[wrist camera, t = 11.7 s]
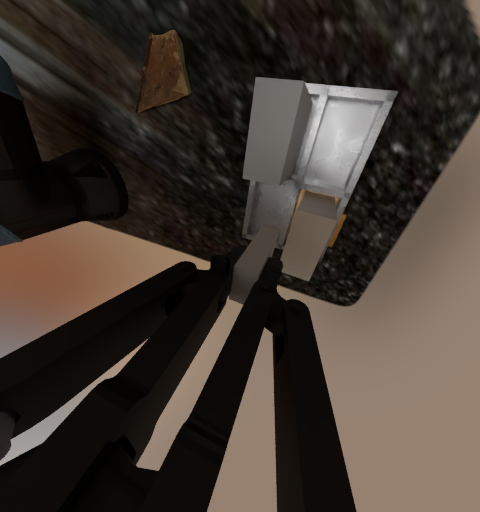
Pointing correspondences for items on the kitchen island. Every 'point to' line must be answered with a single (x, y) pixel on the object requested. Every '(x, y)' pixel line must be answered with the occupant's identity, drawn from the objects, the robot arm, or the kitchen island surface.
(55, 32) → the kitchen island surface
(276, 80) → the grey rectangular block
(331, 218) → the grey beige block
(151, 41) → the shard
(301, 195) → the grey divided tray
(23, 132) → the robot arm
